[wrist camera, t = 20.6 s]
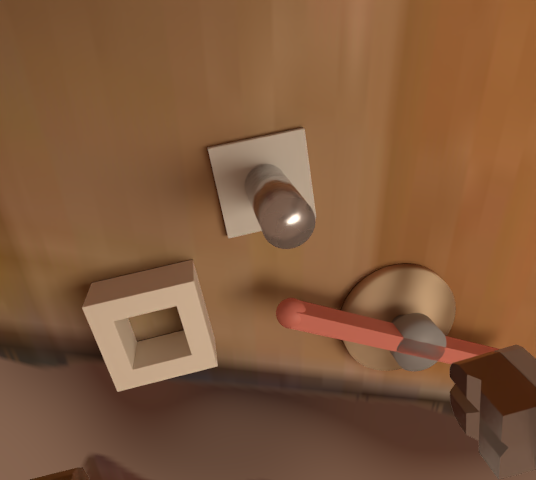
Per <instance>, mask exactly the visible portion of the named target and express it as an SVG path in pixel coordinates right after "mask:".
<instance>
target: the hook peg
mask: <svg viewBox="0 0 536 480" xmlns="http://www.w3.org/2000/svg"><path fill="white" fill-rule="evenodd" d="M244 187H245V192H246V194H247V197H248V199H249V201H250V204H251V206H252V209H253V211H254V213H255V216H256V218H257V220H258V223H259V225H260V227H261V230H262V232H263V234H264V236H265V238H266V240H267V241H268V242H269V243H270V244H272V245H273V246H275V247H278V248H282V249H290V248H295V247H297V246H300V245H301V244H303V243H304V242H306V241H307V240H308V239H309V237H310V236H311V234H312V233H313V230H314V227H315V215H314V212H313V210H312V208H311V207H310V206H309V204H308V203H307V202H306V201H305V199H304V198H303V197H302V195H301V194H300V193H299V192H298V190H297V189H296V188H295V187H294V185H293V184H292V183H291V182H290V180H289V179H288V178H287V177H286V175H285V174H284V173H283V172H282V170H281V169H280V168H278V167H277V166H275V165H272V164H261V165H258V166H256V167H254V168H253V169H252V170H251V171H250V172H249V173H248V175H247V177H246V179H245V185H244Z"/></svg>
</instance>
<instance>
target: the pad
mask: <svg viewBox="0 0 536 480" xmlns="http://www.w3.org/2000/svg"><path fill="white" fill-rule="evenodd" d="M207 148H208V152H209V157H210V161H211V165H212V170H213V174H214V178H215V183H216V187H217V191H218V196H219V200H220V204H221V209H222V213H223V217H224V222H225V226H226V230H227V235H228V238H233V237H237V236H241V235H246V234H250V233H254V232H259V231H262V230H261V227H260V225H259V223H258V220H257V218H256V216H255V213H254V211H253V209H252V206H251V204H250V201H249V199H248V197H247V194H246V192H245V187H244V185H245V179H246V177H247V175H248V173H249V172H250V171H251V170H252V169H253V168H254V167H256V166H258V165H261V164H272V165H275V166H277V167H278V168H280V169H281V170H282V172H283V173H284V174H285V175H286V177H287V178H288V179H289V180H290V182H291V183H292V184H293V185H294V187H295V188H296V189H297V190H298V192H299V193H300V194H301V195H302V197H303V198H304V199H305V201H306V202H307V203H308V204H309V206H310V207H311V208H312V210H313V212H314V215H315V219H316V212H315V205H314V197H313V190H312V182H311V174H310V167H309V159H308V151H307V144H306V136H305V129H304V128H303V127H302V128H298V129H293V130H288V131H283V132H278V133H274V134H269V135H264V136H259V137H254V138H250V139H245V140H240V141H235V142H231V143H226V144H221V145H216V146H211V147H207Z"/></svg>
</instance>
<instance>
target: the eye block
mask: <svg viewBox="0 0 536 480" xmlns="http://www.w3.org/2000/svg"><path fill="white" fill-rule="evenodd" d="M175 306H177V309H178V312H179V315H180V318H181V322H182V325H183V328H184V330H183V331H179V332H175V333H171V334H166V335H162V336H158V337H154V338H150V339H146V340H142V341H138V342H137V340H136V338H135V335H134V332H133V329H132V327H131V324H130V321H129V319H128V318H129V317H133V316H137V315H141V314H146V313H150V312H154V311H158V310H162V309H166V308H171V307H175ZM82 309H83V311H84V314H85V316H86V318H87V321H88V323H89V325H90V328H91V330H92V332H93V335H94V337H95V340H96V342H97V344H98V347H99V349H100V351H101V354H102V356H103V358H104V361H105V363H106V366H107V368H108V370H109V373H110V375H111V377H112V380H113V382H114V384H115V387H116V389H117V392H118V391H122V390H126V389H130V388H134V387H138V386H142V385H146V384H150V383H154V382H158V381H161V380H165V379H169V378H173V377H177V376H181V375H185V374H189V373H193V372H197V371H201V370H205V369H208V368H212V367H216V366H218V364H217V354H216V345H215V338H214V334H213V331H212V327H211V323H210V320H209V316H208V313H207V309H206V305H205V302H204V298H203V294H202V291H201V287H200V284H199V280H198V276H197V273H196V269H195V265H194V262H193V260H189V261H184V262H180V263H176V264H171V265H167V266H163V267H158V268H154V269H150V270H146V271H141V272H137V273H133V274H128V275H124V276H120V277H115V278H111V279H107V280H102V281H98V282H94V283H91V286H90V288H89V291H88V293H87V296H86V299H85V301H84V304H83V306H82Z"/></svg>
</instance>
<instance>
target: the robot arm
mask: <svg viewBox="0 0 536 480" xmlns="http://www.w3.org/2000/svg"><path fill="white" fill-rule="evenodd" d="M450 378H451V379H452V380H453V381H454V383H455V385H454V386H453V388H452V389H451V391H450V403H451V406H452V410H453V413H454V416H455V418H456V419H457V421H458V423H459V425H460V426H461V428H462V429H463V431H464V432H465V434H466V435H468V436H470V437H472V438H474V439H476V440H478V441H479V453H480V455H481V456H482V457H483V459H484V460H485V461H486V463H487V464H488V465H489V467H490V468H491V470H492V471H493V472H494V474H495V475H496V476H497V478H498V479H503V478H507V477H511V476H514V475H518V474H522V473H526V472H529V471H533V470H536V359H535V358H534V357H533V356H532V355H531V354H530V353H529V352H527V351H526V350H525V349H524V348H523V347H521V346H519V345H513V346H510V347H506V348H503V349H499V350H496V351H494V352H493V351H492V352H488V353H485V354H481V355H478V356H474V357H471V358H467V359H464V360H461V361H457V362H454V363H452V364H451V366H450ZM30 480H89V477H88V475H87V474H86V472H85V470H84V469H83V467H82V468H74V469H70V470H66V471H62V472H58V473H54V474H50V475H46V476H42V477H38V478H35V479H30Z"/></svg>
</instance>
